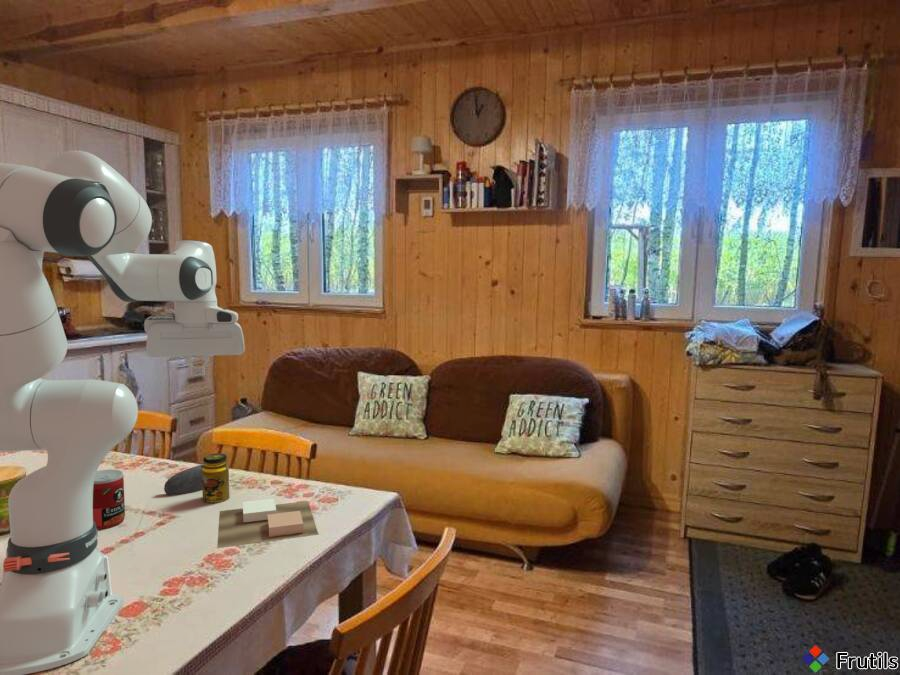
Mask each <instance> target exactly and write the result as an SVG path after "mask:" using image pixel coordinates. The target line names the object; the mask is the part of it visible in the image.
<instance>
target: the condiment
mask: <svg viewBox="0 0 900 675" xmlns="http://www.w3.org/2000/svg"><path fill="white" fill-rule="evenodd" d="M227 460H228V458H227V454H226V453H220V452H218V453H210V454H207V455H204V457H203V464H202V465H203V466H204V467H203V469H202V489H203V490H201V491H202V501H203V503H205V504H210V505H211V504H214V505H215V504H221V503H224V502H226V501H228V500H229V499H230V472H229V471H230V468H229V466H228V461H227Z"/></svg>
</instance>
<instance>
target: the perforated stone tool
mask: <svg viewBox="0 0 900 675" xmlns="http://www.w3.org/2000/svg"><path fill="white" fill-rule="evenodd" d="M203 467H204V466H203V464H199V465H196V466H192V467H189V468H186V469H184V470H182V471H179V472H177V473H176V474H174V475H172V476H171V477H169V478H168V479H167V480H166V482H165V483H164V486H163V487H164V488H163V491H164V493H165V494H166V495H168V496H175V495H184V494H189V493H194V492H195V493H196V492H198V491H199V492H200V491H202V490H203V489H202V469H203Z"/></svg>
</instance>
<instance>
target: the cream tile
mask: <svg viewBox="0 0 900 675" xmlns="http://www.w3.org/2000/svg"><path fill="white" fill-rule="evenodd" d="M275 505H276V501H275V498H269V499H267V498H266V499H257V500H249V501H248V500H247V501H243V502H242V508H243V523H244V522H252V521H260V520H267V515H269V514H276V506H275Z"/></svg>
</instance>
